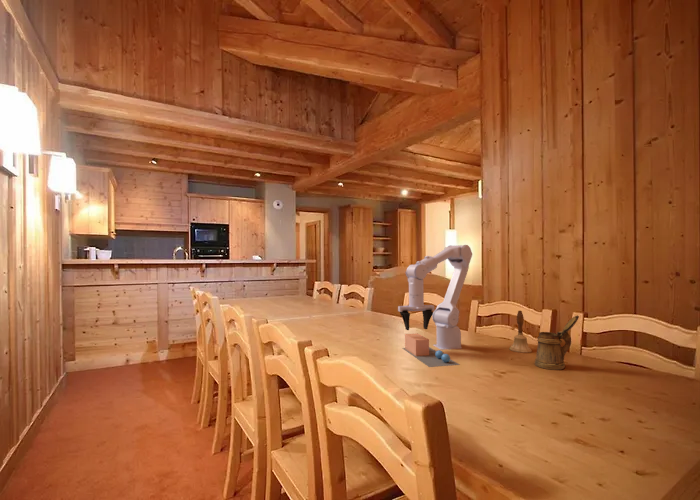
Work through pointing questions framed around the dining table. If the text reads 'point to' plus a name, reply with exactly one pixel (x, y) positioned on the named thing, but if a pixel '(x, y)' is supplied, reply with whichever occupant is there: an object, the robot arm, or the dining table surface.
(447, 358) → the blue marble
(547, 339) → the wooden mug
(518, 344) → the hand bell
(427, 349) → the terracotta cover
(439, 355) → the blue marble
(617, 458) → the dining table surface
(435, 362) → the charcoal mat
